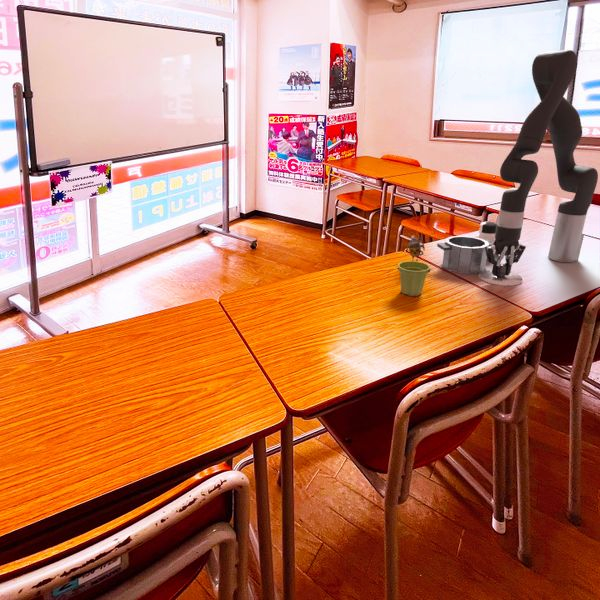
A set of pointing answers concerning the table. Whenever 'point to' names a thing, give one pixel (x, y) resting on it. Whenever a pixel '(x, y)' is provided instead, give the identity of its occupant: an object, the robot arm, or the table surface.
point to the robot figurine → (415, 247)
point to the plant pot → (412, 277)
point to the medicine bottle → (487, 231)
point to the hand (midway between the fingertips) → (500, 274)
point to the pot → (464, 254)
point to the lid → (500, 277)
